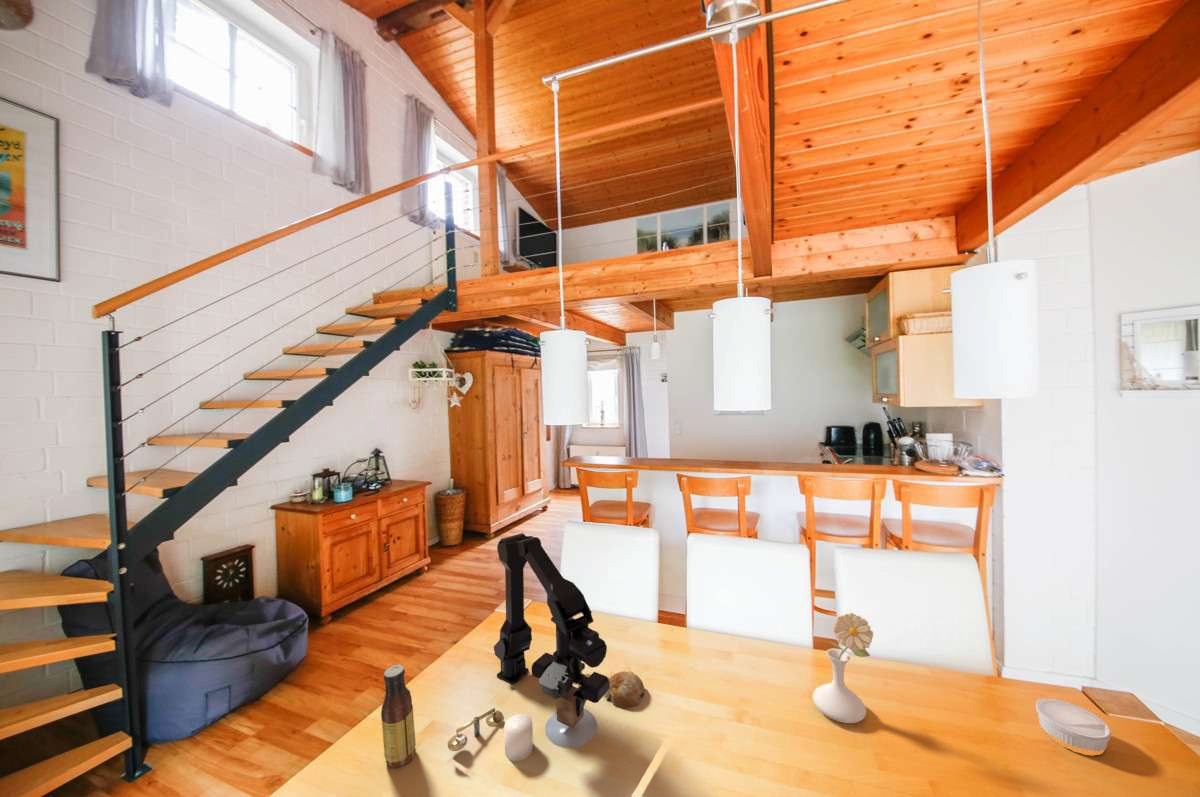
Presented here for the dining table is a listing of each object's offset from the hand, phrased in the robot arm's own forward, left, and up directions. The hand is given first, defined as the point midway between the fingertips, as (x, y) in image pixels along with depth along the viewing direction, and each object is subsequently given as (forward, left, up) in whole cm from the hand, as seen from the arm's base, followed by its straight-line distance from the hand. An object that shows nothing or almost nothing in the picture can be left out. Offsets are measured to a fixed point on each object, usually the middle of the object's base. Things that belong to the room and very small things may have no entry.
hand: (570, 711), depth 101 cm
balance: (-17, -13, -5) cm, 22 cm away
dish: (0, 0, -5) cm, 5 cm away
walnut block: (0, 0, -2) cm, 2 cm away
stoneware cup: (-6, -11, -5) cm, 13 cm away
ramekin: (+96, +54, -5) cm, 110 cm away
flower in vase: (+53, +38, -5) cm, 65 cm away
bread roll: (+5, +15, -5) cm, 17 cm away
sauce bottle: (-28, -25, -5) cm, 38 cm away
